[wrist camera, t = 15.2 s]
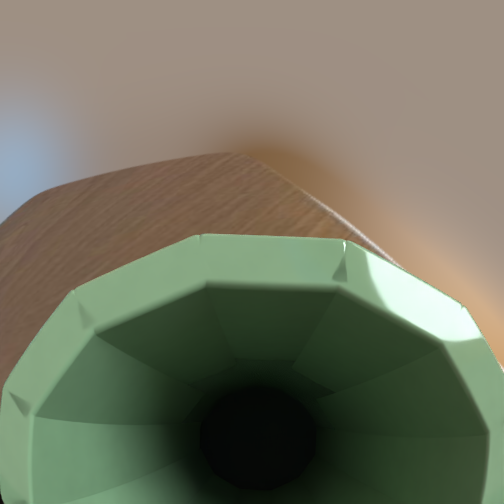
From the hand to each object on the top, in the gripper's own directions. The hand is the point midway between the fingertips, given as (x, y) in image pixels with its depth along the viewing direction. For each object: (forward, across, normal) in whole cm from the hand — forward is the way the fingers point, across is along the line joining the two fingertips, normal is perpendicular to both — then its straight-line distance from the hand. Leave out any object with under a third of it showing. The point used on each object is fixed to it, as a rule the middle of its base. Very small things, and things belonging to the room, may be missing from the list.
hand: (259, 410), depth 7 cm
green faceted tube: (+3, 0, +5) cm, 6 cm away
